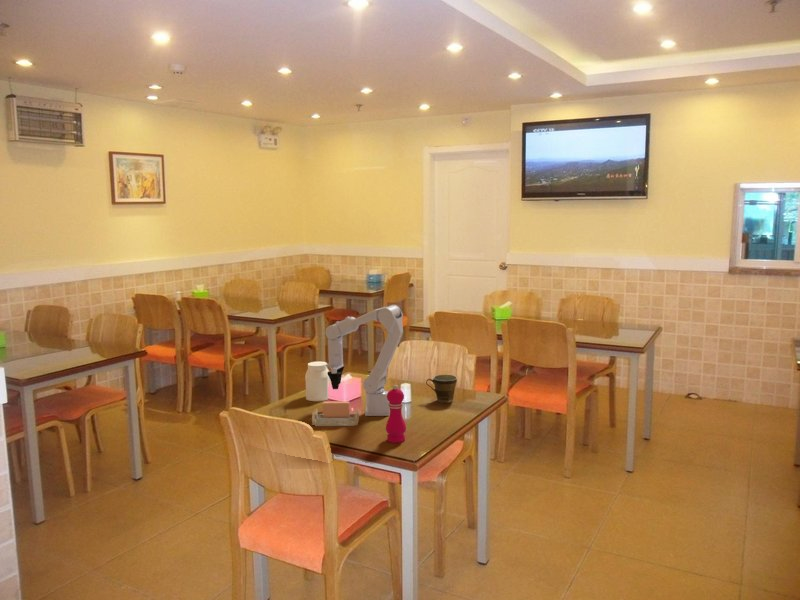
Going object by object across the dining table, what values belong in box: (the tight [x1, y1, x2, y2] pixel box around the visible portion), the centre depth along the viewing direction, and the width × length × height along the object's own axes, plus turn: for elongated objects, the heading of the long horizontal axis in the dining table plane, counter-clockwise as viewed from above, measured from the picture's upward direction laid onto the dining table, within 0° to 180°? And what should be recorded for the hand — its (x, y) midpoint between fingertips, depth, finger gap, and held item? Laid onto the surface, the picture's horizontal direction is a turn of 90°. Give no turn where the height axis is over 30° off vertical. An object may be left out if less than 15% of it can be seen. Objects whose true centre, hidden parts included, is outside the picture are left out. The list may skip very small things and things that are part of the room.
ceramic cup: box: [425, 374, 458, 404], centre depth 274 cm, size 13×10×10 cm
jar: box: [304, 360, 331, 402], centre depth 281 cm, size 12×10×15 cm
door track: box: [311, 407, 360, 427], centre depth 248 cm, size 17×8×4 cm, turn 89°
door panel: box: [322, 400, 351, 418], centre depth 248 cm, size 10×2×7 cm, turn 89°
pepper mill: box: [385, 384, 407, 444], centre depth 228 cm, size 7×7×20 cm
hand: (336, 386), depth 264 cm, fingers open, 7 cm apart
